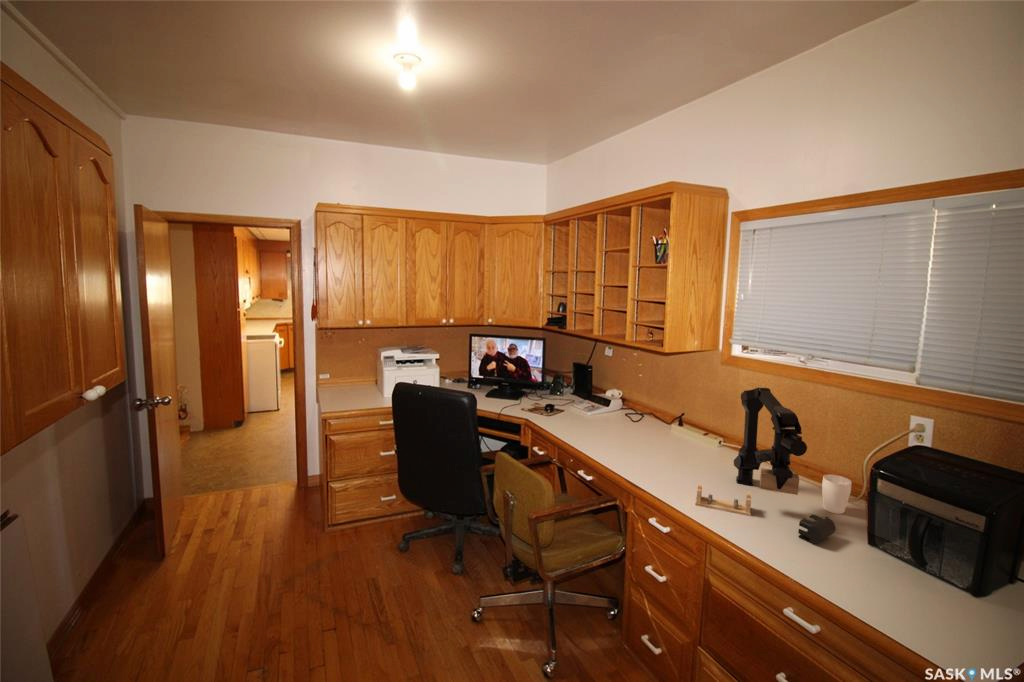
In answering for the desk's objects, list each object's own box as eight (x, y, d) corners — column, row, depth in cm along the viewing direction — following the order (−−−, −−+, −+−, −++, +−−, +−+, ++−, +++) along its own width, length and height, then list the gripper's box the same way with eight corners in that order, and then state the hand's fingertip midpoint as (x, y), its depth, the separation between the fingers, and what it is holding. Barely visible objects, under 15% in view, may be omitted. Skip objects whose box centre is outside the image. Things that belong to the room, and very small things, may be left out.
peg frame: (696, 497, 191) (697, 483, 190) (750, 507, 183) (751, 493, 182) (695, 504, 184) (696, 490, 183) (750, 516, 176) (752, 501, 176)
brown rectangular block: (759, 483, 183) (761, 467, 182) (796, 489, 178) (797, 473, 177) (760, 488, 178) (761, 473, 177) (797, 495, 173) (799, 479, 173)
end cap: (819, 548, 157) (821, 529, 156) (797, 538, 163) (799, 519, 162) (834, 539, 162) (837, 520, 161) (812, 529, 168) (814, 511, 167)
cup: (816, 509, 182) (819, 479, 180) (822, 501, 188) (826, 472, 186) (844, 518, 176) (848, 487, 174) (850, 509, 182) (854, 479, 180)
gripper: (756, 434, 187) (753, 472, 190) (758, 450, 171) (754, 492, 173) (789, 438, 183) (785, 477, 185) (794, 455, 166) (790, 498, 168)
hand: (778, 486), depth 178 cm, fingers closed on brown rectangular block, 5 cm apart
